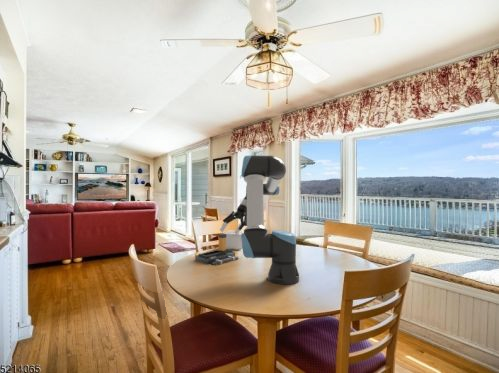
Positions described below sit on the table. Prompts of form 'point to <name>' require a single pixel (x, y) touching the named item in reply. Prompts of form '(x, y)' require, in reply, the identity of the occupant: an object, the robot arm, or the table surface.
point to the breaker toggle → (222, 243)
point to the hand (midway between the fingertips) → (228, 232)
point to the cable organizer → (233, 240)
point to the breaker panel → (213, 256)
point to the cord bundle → (224, 260)
